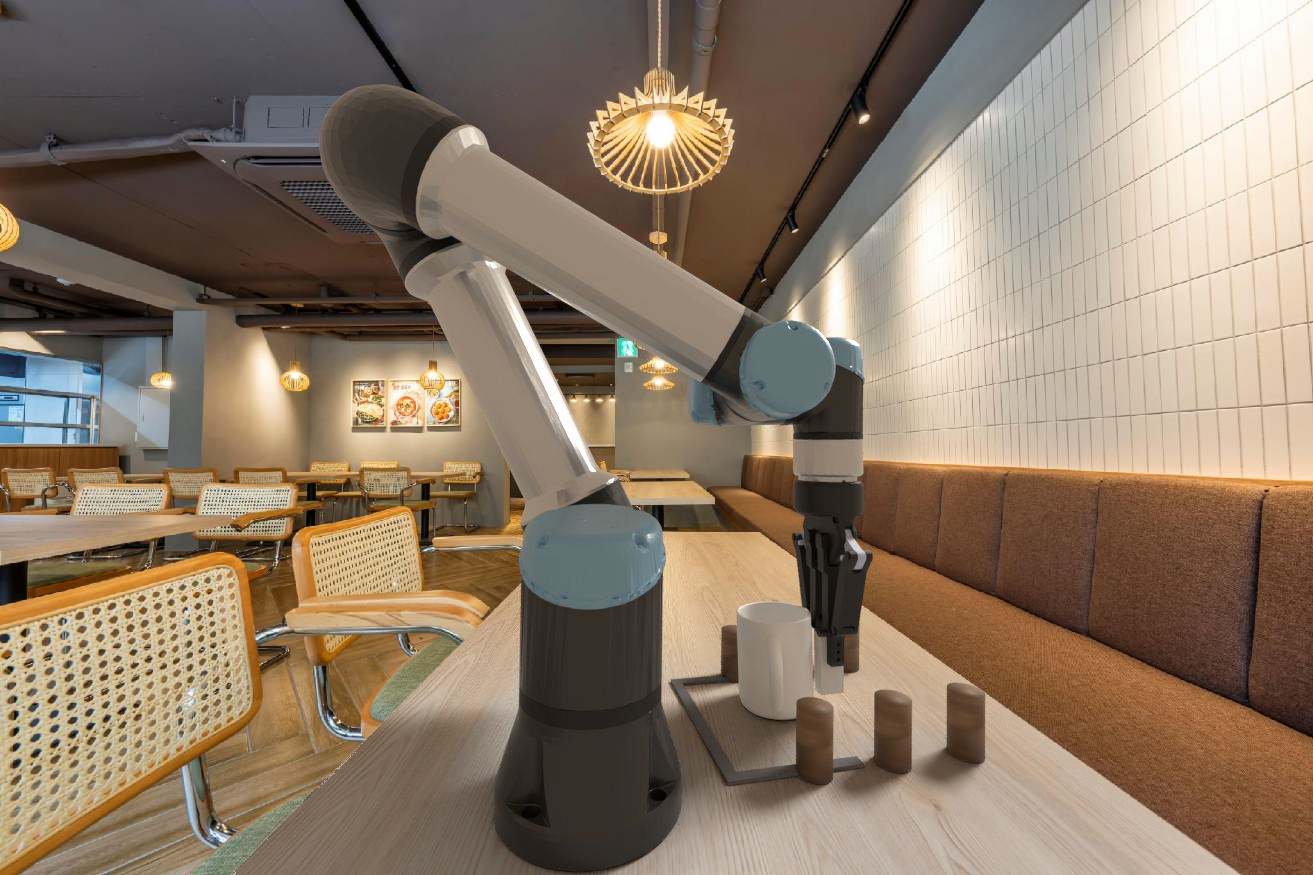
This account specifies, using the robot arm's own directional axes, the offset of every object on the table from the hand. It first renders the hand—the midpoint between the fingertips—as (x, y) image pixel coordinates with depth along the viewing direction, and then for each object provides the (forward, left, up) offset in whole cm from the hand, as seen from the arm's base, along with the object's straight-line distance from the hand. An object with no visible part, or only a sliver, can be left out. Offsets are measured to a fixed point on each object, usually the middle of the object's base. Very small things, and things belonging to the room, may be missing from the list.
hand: (829, 690), depth 58 cm
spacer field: (+1, 0, -2) cm, 2 cm away
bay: (-8, 0, -2) cm, 9 cm away
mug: (-6, +1, -2) cm, 6 cm away
